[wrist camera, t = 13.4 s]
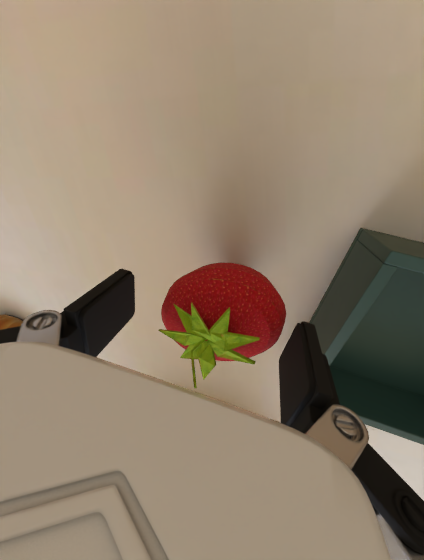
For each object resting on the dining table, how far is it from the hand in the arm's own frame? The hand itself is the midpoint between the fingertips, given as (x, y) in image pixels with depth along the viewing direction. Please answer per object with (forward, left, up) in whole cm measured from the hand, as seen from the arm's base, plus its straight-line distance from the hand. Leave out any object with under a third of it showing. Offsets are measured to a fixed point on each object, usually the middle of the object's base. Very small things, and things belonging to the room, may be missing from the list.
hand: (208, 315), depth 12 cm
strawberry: (0, +1, -7) cm, 7 cm away
